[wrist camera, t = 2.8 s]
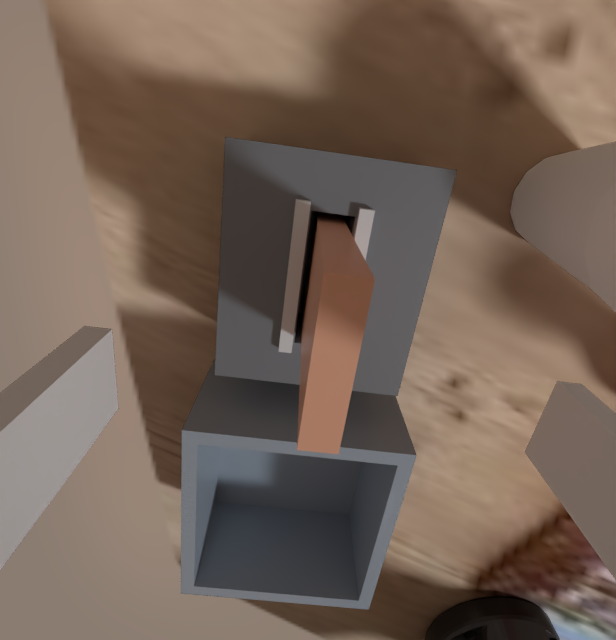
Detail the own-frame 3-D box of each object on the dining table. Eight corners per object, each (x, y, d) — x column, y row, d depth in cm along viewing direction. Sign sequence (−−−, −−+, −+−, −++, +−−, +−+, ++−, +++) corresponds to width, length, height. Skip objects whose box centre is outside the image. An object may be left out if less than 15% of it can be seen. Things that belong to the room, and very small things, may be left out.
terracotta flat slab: (324, 309, 29) (338, 454, 15) (302, 306, 28) (296, 450, 15) (340, 212, 26) (375, 279, 12) (316, 209, 26) (323, 272, 12)
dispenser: (379, 347, 32) (399, 400, 25) (234, 329, 31) (212, 379, 25) (421, 166, 27) (460, 170, 20) (246, 141, 26) (223, 136, 19)
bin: (356, 514, 39) (368, 609, 31) (208, 499, 39) (180, 593, 30) (389, 380, 33) (416, 455, 25) (214, 359, 33) (181, 430, 24)
